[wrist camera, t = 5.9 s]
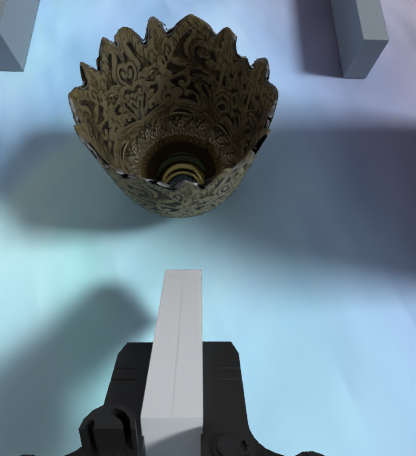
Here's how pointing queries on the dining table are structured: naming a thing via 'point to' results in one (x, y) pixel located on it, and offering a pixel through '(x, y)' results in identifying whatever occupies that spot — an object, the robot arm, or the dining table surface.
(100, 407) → the robot arm
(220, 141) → the cup
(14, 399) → the dining table surface
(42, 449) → the dining table surface
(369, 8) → the corral
